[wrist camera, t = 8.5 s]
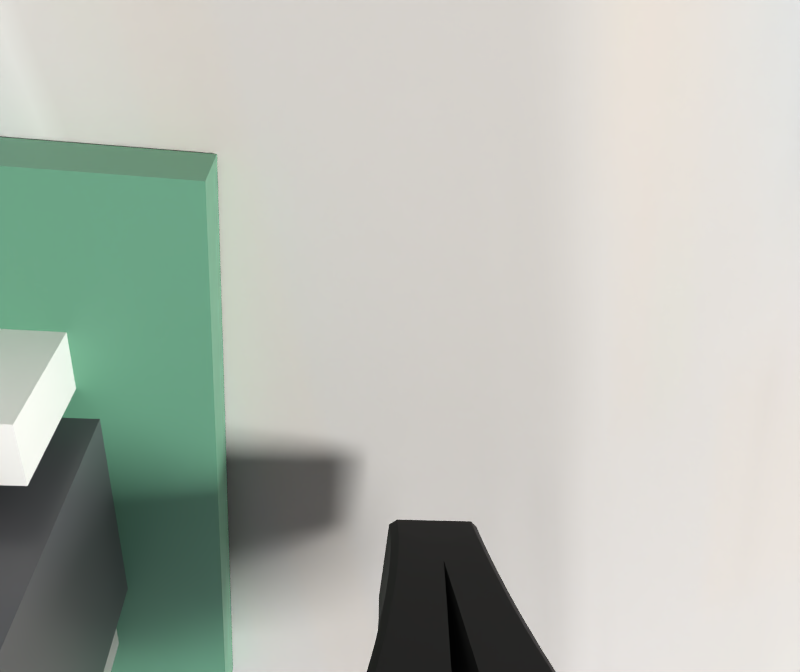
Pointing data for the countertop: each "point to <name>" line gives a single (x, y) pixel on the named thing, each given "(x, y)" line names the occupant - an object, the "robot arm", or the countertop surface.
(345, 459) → the countertop surface
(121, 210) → the board
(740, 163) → the countertop surface
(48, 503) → the plug
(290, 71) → the countertop surface
